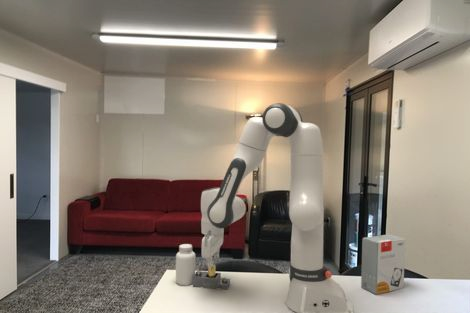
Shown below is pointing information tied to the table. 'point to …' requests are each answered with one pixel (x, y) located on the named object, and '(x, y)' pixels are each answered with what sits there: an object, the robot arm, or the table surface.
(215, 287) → the chain end
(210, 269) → the pin
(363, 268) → the hard drive box
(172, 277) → the table surface
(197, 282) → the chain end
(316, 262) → the robot arm
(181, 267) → the pill bottle
